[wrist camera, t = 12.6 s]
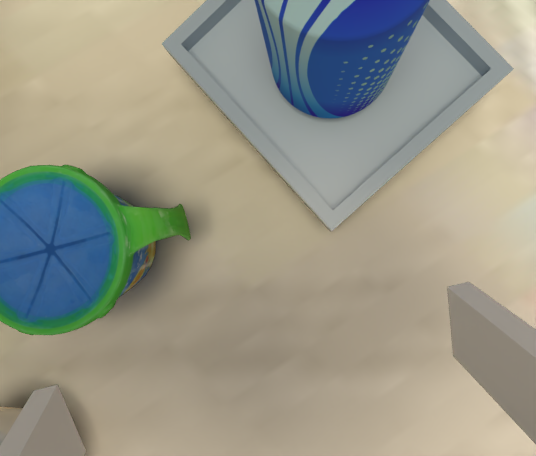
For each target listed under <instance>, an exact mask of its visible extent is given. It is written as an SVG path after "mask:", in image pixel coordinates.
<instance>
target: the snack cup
mask: <svg viewBox="0 0 536 456" xmlns="http://www.w3.org/2000/svg"><path fill="white" fill-rule="evenodd" d="M176 235H181V236H182V237H184V238H185V239H187V240H190V239H191V236H190V231H189V226H188V222H187V218H186V215H185V211H184V208H183V206H182V205H181V204H179V205H178V206H177V207H175V208H170V209H168V208H146V207H134V206H133V205H132V204H130V203H128V202H127V201H125V200H123V199H122V198H120V197H118V196H116V195H114V194H112V193H111V191H110V190H109V189H107V187H105V186H104V185H103V184H102V183H100V182H99V181H97V180H96V179H94V178H93V177H91V176H89V175H87V174H86V173H85V172H84V171H83V170H82V169H80V168H76V167H73V166H69V165H63V166H53V165H38V166H30V167H26V168H23V169H20V170H17V171H15V172H13V173H11V174H9V175H7V176H5V177H4V178H2V179H1V180H0V321H1V322H3V323H4V324H7V325H9V326H10V327H12V328H15V329H17V330H18V331H19V332H22V333H25V334H29V335H34V334H36V335H56V334H62V333H66V332H70V331H73V330H76V329H79V328H81V327H83V326H85V325H87V324H89V323H91V322H92V321H94V320H96V319H97V318H102V317H104V316H105V315H106V314H107V313H108V312H109V311H110V310H111V309H112V308H113V307H114V305H115V303H116V300H117V299H118V298H119V297H120V296H122V295H123V294H124V293H126V292H127V291H128V290H129V289H131V288H132V287H134V286H135V285H136V284H137V283H138V282H139V281H140V280H141V279H142V278H143V277H144V276H145V275H146V274H147V272H148V270H149V269H150V267H151V265H152V263H153V259H154V256H155V241H158V240H162V239H165V238H169V237H172V236H176Z"/></svg>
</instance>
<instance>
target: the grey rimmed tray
mask: <svg viewBox="0 0 536 456" xmlns="http://www.w3.org/2000/svg"><path fill="white" fill-rule="evenodd" d="M162 45H163V46H164V47H165V49H166V50H167V51H168V52H169V54H170V55H171V56H172V57H173V59H174V60H175V61H176V62H177V63H178V64H179V65H180V66H181V68H182V69H183V70H184V71H185V72H186V73H187V74H188V75H189V76H190V77H191V79H192V80H193V81H194V82H195V83H196V84H197V85H198V86H199V87H200V88H201V90H202V91H203V92H204V93H205V94H206V95H207V96H208V97H209V98H210V99H211V101H212V102H213V103H214V104H215V105H216V106H217V107H218V108H219V109H220V110H221V112H222V113H223V114H224V115H225V116H226V117H227V118H228V119H229V120H230V121H231V123H232V124H233V125H234V126H235V127H236V128H237V129H238V130H239V131H240V132H241V134H242V135H243V136H244V137H245V138H246V139H247V140H248V141H249V142H250V143H251V145H252V146H253V147H254V148H255V149H256V150H257V151H258V152H259V153H260V154H261V156H262V157H263V158H264V159H265V160H266V161H267V162H268V163H269V164H270V165H271V167H272V168H273V169H274V170H275V171H276V172H277V173H278V174H279V175H280V176H281V178H282V179H283V180H284V181H285V182H286V183H287V184H288V185H289V186H290V187H291V189H292V190H293V191H294V192H295V193H296V194H297V195H298V196H299V197H300V198H301V200H302V201H303V202H304V203H305V204H306V205H307V206H308V207H309V208H310V209H311V211H312V212H313V213H314V214H315V215H316V216H317V217H318V218H319V219H320V221H321V222H322V223H323V224H324V225H325V226H326V227H327V228H328V229H329V230H330V231H333V230H334V229H335V228H336V227H337V226H338V225H339V224H340V223H342V222H343V221H344V220H345V219H346V218H347V217H348V216H349V215H351V214H352V213H353V212H354V211H355V210H356V209H357V208H358V207H360V206H361V205H362V204H363V203H364V202H365V201H366V200H367V199H368V198H370V197H371V196H372V195H373V194H374V193H375V192H376V191H377V190H379V189H380V188H381V187H382V186H383V185H384V184H385V183H386V182H388V181H389V180H390V179H391V178H392V177H393V176H394V175H395V174H397V173H398V172H399V171H400V170H401V169H402V168H403V167H404V166H405V165H407V164H408V163H409V162H410V161H411V160H412V159H413V158H414V157H416V156H417V155H418V154H419V153H420V152H421V151H422V150H423V149H425V148H426V147H427V146H428V145H429V144H430V143H431V142H432V141H434V140H435V139H436V138H437V137H438V136H439V135H440V134H441V133H443V132H444V131H445V130H446V129H447V128H448V127H449V126H450V125H451V124H453V123H454V122H455V121H456V120H457V119H458V118H459V117H460V116H462V115H463V114H464V113H465V112H466V111H467V110H468V109H469V108H471V107H472V106H473V105H474V104H475V103H476V102H477V101H478V100H480V99H481V98H482V97H483V96H484V95H485V94H486V93H487V92H488V91H490V90H491V89H492V88H493V87H494V86H495V85H496V84H497V83H499V82H500V81H501V80H502V79H503V78H504V77H505V76H506V75H508V74H509V73H510V72H511V71H512V70H513V68H512V67H511V66H510V65H509V64H508V63H507V62H506V61H505V60H504V59H503V58H502V56H501V55H500V54H499V53H498V52H497V51H496V50H495V49H494V48H493V47H492V46H491V45H490V44H489V43H488V42H487V41H486V40H485V39H484V38H483V37H482V36H481V35H480V34H479V33H478V32H477V31H476V30H475V29H474V28H473V27H472V26H471V25H470V24H469V23H468V22H467V21H466V20H465V19H464V18H463V17H462V16H461V15H460V14H459V13H458V12H457V11H456V10H455V9H454V8H453V7H452V6H451V5H450V4H449V3H448V2H447V1H446V0H430V1H429V3H428V5H427V7H426V9H425V11H424V13H423V15H422V16H421V18H420V20H419V22H418V24H417V26H416V28H415V30H414V32H413V34H412V36H411V38H410V40H409V42H408V44H407V46H406V48H405V50H404V52H403V54H402V55H401V57H400V59H399V61H398V63H397V65H396V67H395V69H394V71H393V73H392V75H391V77H390V79H389V81H388V83H387V85H386V86H385V88H384V90H383V91H382V92H381V94H380V95H379V96H378V97H377V98H376V99H375V100H374V101H373V102H372V103H371V104H370V105H369V106H367V107H366V108H364V109H363V110H361V111H359V112H357V113H355V114H352V115H349V116H346V117H342V118H333V119H327V118H318V117H314V116H311V115H308V114H306V113H304V112H302V111H300V110H298V109H297V108H295V107H294V106H293V105H291V104H290V103H289V102H288V101H287V100H286V99H285V98H284V96H283V95H282V94H281V92H280V91H279V89H278V87H277V85H276V83H275V80H274V77H273V74H272V69H271V65H270V61H269V57H268V53H267V49H266V45H265V41H264V37H263V33H262V29H261V25H260V20H259V16H258V12H257V8H256V4H255V0H206V1H205V2H204V3H203V4H202V5H201V6H200V7H199V8H198V9H197V10H196V11H195V12H194V13H193V14H192V15H191V16H190V17H189V18H188V19H187V20H186V21H185V22H184V23H183V24H182V25H181V26H180V27H178V28H177V29H176V30H175V31H174V32H173V33H172V34H171V35H170V36H169V37H168V38H167V39H166V40H165V41H164V42H163V43H162Z"/></svg>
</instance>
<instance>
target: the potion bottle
mask: <svg viewBox="0 0 536 456" xmlns="http://www.w3.org/2000/svg"><path fill="white" fill-rule="evenodd" d="M22 409H23V408H14V407H2V406H0V445H1V443H2V442H3V440H4V438H5V437H6V435H7V434H8V432H9V430H10V429H11V427H12V425H13V424H14V422H15V420H16V419H17V417H18V416H19V414H20V412H21V411H22Z"/></svg>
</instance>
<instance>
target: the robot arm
mask: <svg viewBox="0 0 536 456" xmlns="http://www.w3.org/2000/svg"><path fill="white" fill-rule="evenodd" d="M447 291H448V303H449V314H450V326H451V337H452V349H453V356H454V357H455V358H456V360H457V361H458V362H459V363H460V364H461V365H462V366H463V367H464V368H465V369H466V370H467V371H468V372H469V373H470V374H471V376H472V377H473V378H474V379H475V380H476V381H477V382H478V383H479V384H480V385H481V386H482V387H483V388H484V389H485V390H486V392H487V393H488V394H489V395H490V396H491V397H492V398H493V399H494V400H495V401H496V402H497V403H498V404H499V405H500V406H501V408H502V409H503V410H504V411H505V412H506V413H507V414H508V415H509V416H510V417H511V418H512V419H513V420H514V421H515V423H516V424H517V425H518V426H519V427H520V428H521V429H522V430H523V431H524V432H525V433H526V434H527V435H528V436H529V437H530V439H531V440H532V441H533V442H534V443H535V444H536V329H534V328H533V327H532V326H530V325H529V324H527V323H526V322H525V321H523V320H522V319H520V318H519V317H518V316H516V315H515V314H513V313H512V312H511V311H509V310H508V309H506V308H505V307H504V306H502V305H501V304H499V303H498V302H496V301H495V300H494V299H492V298H491V297H489V296H488V295H487V294H485V293H484V292H482V291H481V290H480V289H478V288H477V287H475V286H474V285H473V284H471V283H470V282H465V283H461V284H457V285H453V286H449V287H447ZM85 453H86V450H85V447H84V445H83V443H82V440H81V438H80V436H79V433H78V431H77V429H76V426H75V424H74V422H73V419H72V417H71V415H70V412H69V410H68V407H67V405H66V403H65V400H64V398H63V396H62V393H61V391H60V389H59V386H58V385H54V386H50V387H46V388H42V389H38V390H34V391H33V393H32V394H31V396H30V398H29V399H28V401H27V402H26V404H25V406H24V407H23V409H22V411H21V412H20V414H19V416H18V417H17V419H16V420H15V422H14V424H13V425H12V427H11V429H10V430H9V432H8V434H7V435H6V437H5V438H4V440H3V442H2V443H1V445H0V456H85Z"/></svg>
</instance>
